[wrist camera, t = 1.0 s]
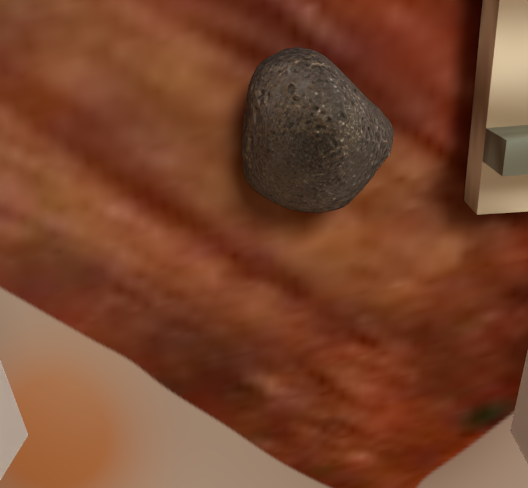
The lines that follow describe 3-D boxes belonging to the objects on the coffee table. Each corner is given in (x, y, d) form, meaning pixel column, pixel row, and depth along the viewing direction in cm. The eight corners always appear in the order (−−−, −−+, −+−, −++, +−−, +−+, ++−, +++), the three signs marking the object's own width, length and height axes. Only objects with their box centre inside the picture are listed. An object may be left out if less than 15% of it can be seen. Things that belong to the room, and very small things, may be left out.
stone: (346, 181, 37) (452, 133, 28) (276, 250, 33) (373, 218, 24) (268, 73, 35) (355, -15, 26) (184, 131, 31) (253, 51, 22)
